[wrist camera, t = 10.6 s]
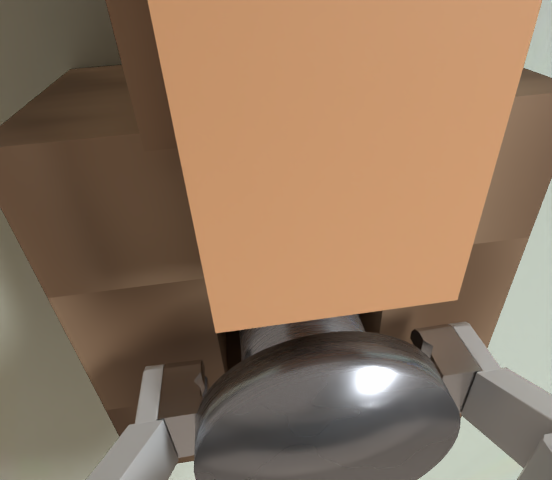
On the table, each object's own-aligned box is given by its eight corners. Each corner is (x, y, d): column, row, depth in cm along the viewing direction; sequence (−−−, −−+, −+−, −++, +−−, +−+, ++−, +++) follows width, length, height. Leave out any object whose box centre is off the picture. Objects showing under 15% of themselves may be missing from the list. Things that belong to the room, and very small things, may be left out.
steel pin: (354, 303, 17) (434, 494, 11) (212, 322, 17) (214, 532, 11) (366, 174, 14) (490, 351, 8) (186, 194, 13) (167, 399, 7)
